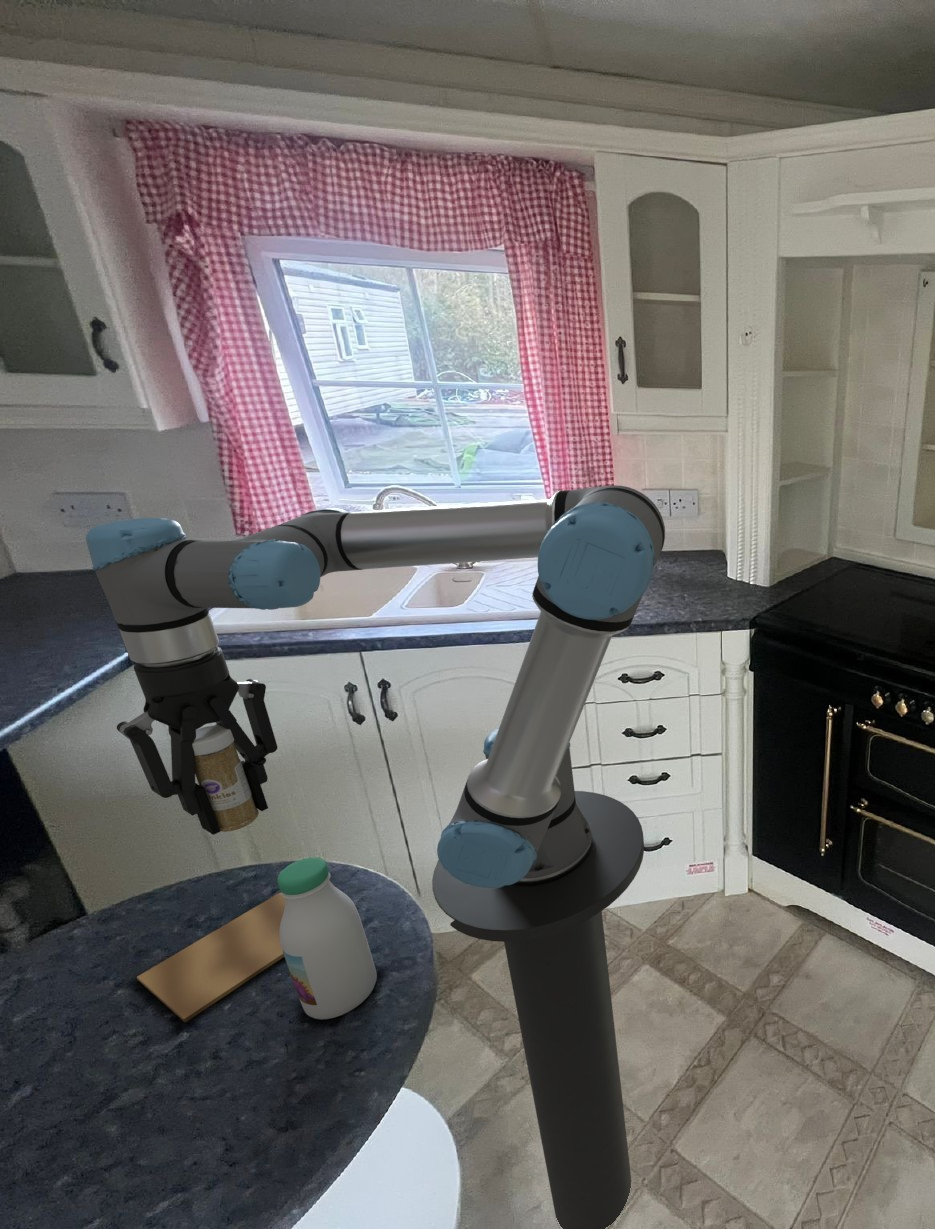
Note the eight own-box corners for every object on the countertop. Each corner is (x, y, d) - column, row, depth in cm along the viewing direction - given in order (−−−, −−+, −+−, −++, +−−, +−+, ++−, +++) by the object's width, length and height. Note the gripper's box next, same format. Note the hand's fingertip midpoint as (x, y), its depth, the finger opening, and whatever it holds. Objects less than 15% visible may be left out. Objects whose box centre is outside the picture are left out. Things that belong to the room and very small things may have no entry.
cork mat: (280, 895, 96) (279, 892, 96) (328, 927, 92) (327, 924, 91) (137, 980, 83) (136, 976, 83) (184, 1022, 78) (183, 1019, 78)
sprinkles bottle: (209, 837, 81) (173, 745, 76) (220, 815, 85) (187, 726, 80) (255, 827, 83) (223, 737, 78) (264, 806, 87) (234, 719, 82)
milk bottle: (383, 959, 87) (349, 839, 80) (371, 1009, 81) (333, 884, 73) (313, 977, 84) (271, 855, 77) (295, 1030, 78) (247, 903, 70)
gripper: (249, 622, 84) (295, 773, 93) (55, 675, 70) (132, 849, 78) (281, 634, 81) (326, 790, 90) (86, 693, 66) (162, 872, 75)
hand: (236, 817), depth 84 cm, fingers closed on sprinkles bottle, 4 cm apart
